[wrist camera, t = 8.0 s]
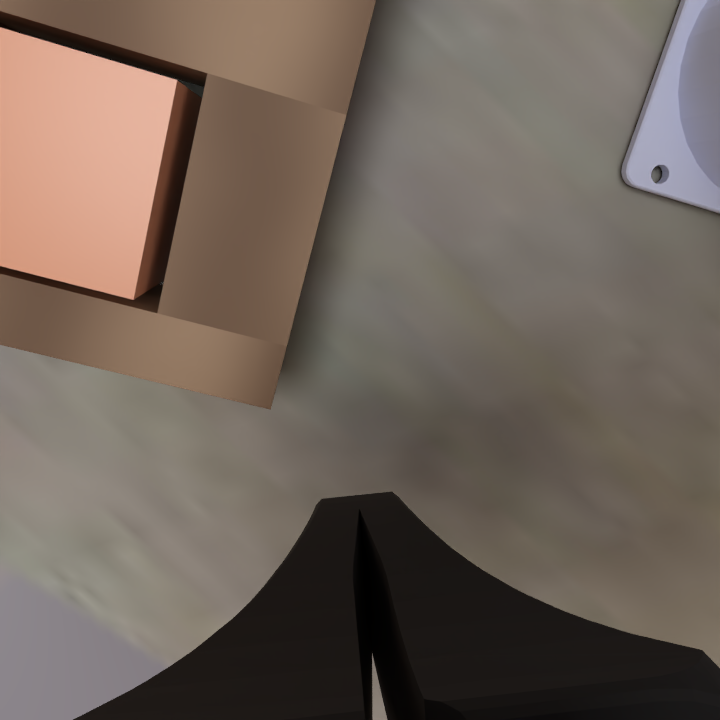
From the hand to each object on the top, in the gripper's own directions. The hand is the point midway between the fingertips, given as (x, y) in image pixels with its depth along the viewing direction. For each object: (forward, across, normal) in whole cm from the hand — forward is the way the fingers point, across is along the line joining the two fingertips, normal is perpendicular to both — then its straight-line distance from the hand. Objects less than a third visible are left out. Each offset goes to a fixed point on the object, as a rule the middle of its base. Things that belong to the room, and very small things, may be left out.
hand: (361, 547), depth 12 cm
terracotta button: (+8, +6, -7) cm, 12 cm away
